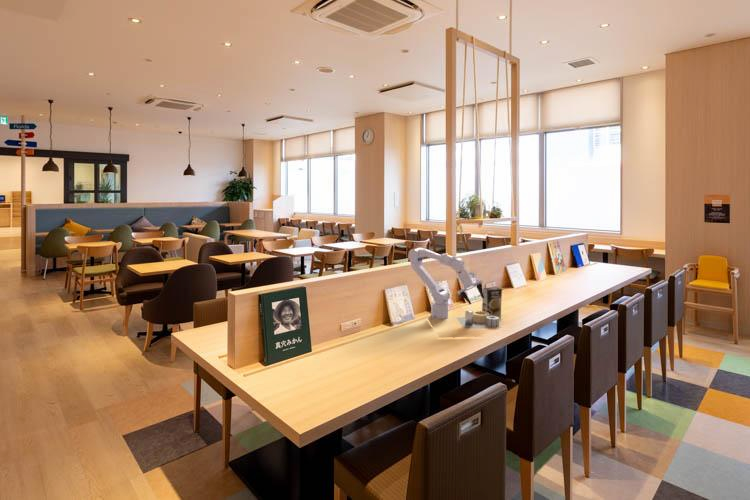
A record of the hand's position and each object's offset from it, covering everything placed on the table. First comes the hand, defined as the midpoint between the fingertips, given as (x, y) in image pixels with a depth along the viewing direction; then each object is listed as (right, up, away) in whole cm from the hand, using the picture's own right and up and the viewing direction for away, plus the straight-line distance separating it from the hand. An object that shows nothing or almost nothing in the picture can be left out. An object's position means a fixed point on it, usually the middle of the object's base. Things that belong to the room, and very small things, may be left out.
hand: (476, 301), depth 245 cm
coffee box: (+13, -11, +18) cm, 24 cm away
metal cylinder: (-5, -12, -2) cm, 13 cm away
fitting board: (+1, -13, +1) cm, 13 cm away
